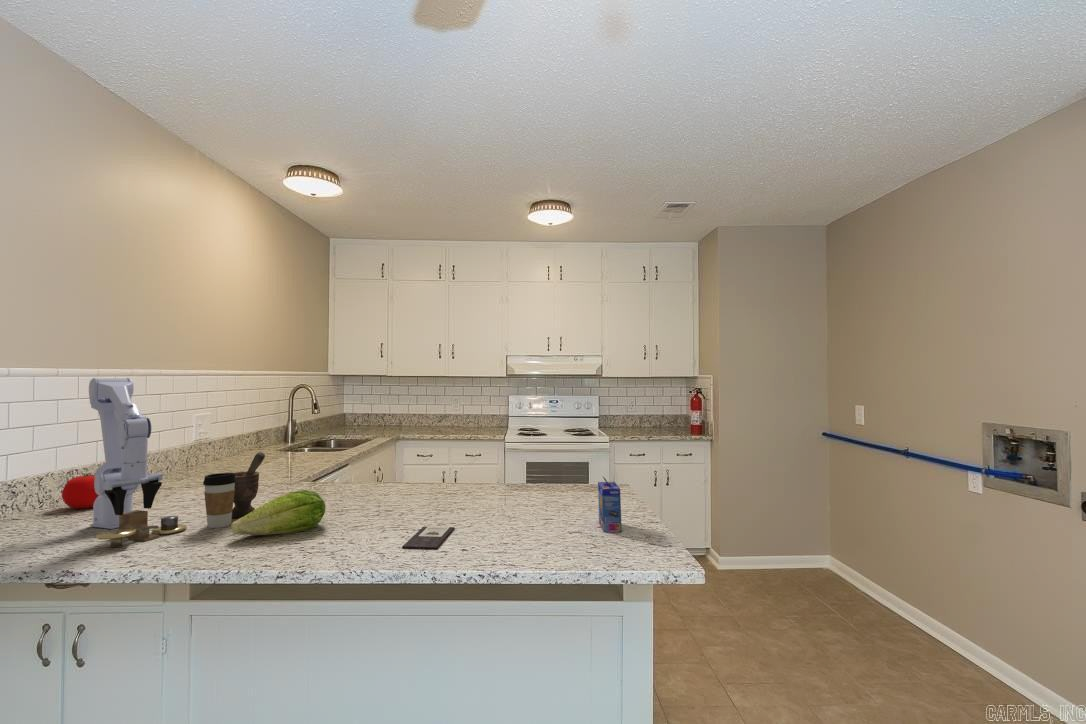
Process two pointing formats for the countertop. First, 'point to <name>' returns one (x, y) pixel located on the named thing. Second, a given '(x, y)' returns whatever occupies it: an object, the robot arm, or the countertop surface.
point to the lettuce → (283, 515)
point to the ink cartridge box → (609, 506)
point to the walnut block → (133, 520)
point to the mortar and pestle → (246, 488)
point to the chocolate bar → (428, 538)
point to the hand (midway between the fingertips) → (133, 511)
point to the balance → (142, 531)
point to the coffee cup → (219, 498)
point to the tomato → (80, 492)
